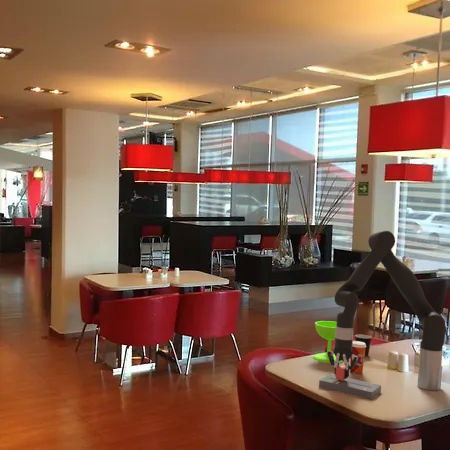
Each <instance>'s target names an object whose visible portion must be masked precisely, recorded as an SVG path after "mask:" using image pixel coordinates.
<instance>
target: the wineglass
mask: <svg viewBox="0 0 450 450" xmlns="http://www.w3.org/2000/svg"><path fill="white" fill-rule="evenodd" d="M336 323H337V321H331V320H330V321H329V320H320V321H319V320H318V321H315V322H314V325H315V330H316V333H317V334H318V336H320V337H321V338H322V339H324V340H327V349H326V350H327V351H326V353H324V352H321V353H315V354H314V355H313V356H312V359H313V360H314V359H315V360H314V361H316V360H317V361H316V362H320V363H323V364H330V361H329V357H328V354H327V352H328V351H332V345H333V344H332V342H333V341H335V331H336ZM333 357H334V361H335V360H336V356H335V354H334V355H333ZM339 364H344V361H340V363H339Z"/></svg>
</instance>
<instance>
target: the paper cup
mask: <svg viewBox="0 0 450 450" xmlns="http://www.w3.org/2000/svg"><path fill="white" fill-rule="evenodd" d="M365 349H366V344H365V343H364V342H359V341H355V340H353V345H352V352H353V354H354V355H355V356H358V357H359V358H358V360H357V362H356V365H355V367H354V368H353V369H350V370H349V372H350V373H352V374H354V375H355V374H356V375H357V374H358V375H361V374H363V370H364V366H365V364H364V363H365V358H366V357H365ZM349 360H350V365H351V363H352V361H353V360H352V357H351V358H350V359H349Z"/></svg>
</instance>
